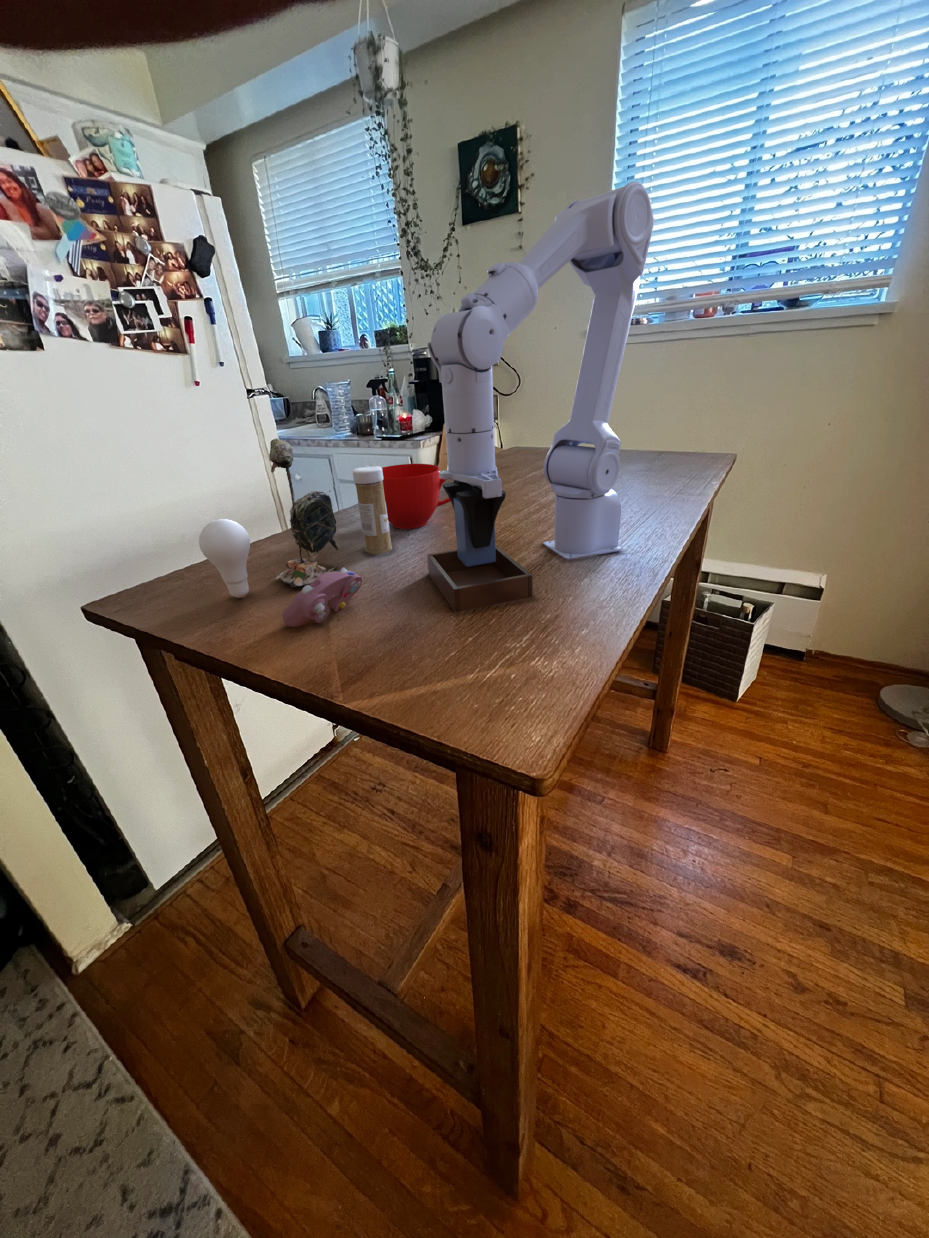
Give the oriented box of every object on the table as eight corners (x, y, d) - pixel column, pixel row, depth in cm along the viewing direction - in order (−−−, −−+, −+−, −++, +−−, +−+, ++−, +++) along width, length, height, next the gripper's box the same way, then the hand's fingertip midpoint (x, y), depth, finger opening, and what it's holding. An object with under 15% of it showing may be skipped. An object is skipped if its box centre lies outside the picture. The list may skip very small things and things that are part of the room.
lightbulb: (219, 611, 66) (193, 530, 61) (216, 594, 71) (191, 518, 66) (267, 599, 68) (246, 521, 63) (261, 584, 73) (241, 510, 68)
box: (495, 564, 75) (494, 543, 73) (532, 599, 64) (532, 574, 62) (429, 576, 72) (426, 554, 71) (456, 614, 61) (454, 589, 60)
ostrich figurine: (359, 570, 76) (337, 431, 67) (290, 594, 70) (254, 443, 60) (332, 558, 82) (308, 427, 72) (265, 579, 75) (229, 439, 66)
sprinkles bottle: (397, 551, 83) (386, 467, 76) (372, 557, 81) (359, 472, 74) (385, 544, 86) (374, 464, 80) (360, 550, 84) (347, 468, 78)
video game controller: (304, 645, 60) (312, 602, 55) (277, 622, 61) (283, 579, 56) (360, 611, 67) (371, 571, 63) (336, 591, 68) (345, 551, 64)
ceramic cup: (464, 531, 90) (460, 474, 85) (370, 536, 91) (362, 480, 86) (464, 511, 101) (462, 460, 97) (382, 516, 102) (375, 465, 97)
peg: (485, 552, 68) (483, 493, 65) (496, 561, 65) (494, 500, 61) (457, 557, 67) (453, 497, 64) (466, 567, 64) (463, 505, 60)
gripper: (421, 427, 64) (431, 530, 70) (455, 441, 51) (463, 565, 58) (474, 422, 66) (478, 522, 72) (518, 434, 53) (519, 555, 60)
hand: (475, 541), depth 65 cm, fingers closed on peg, 4 cm apart
